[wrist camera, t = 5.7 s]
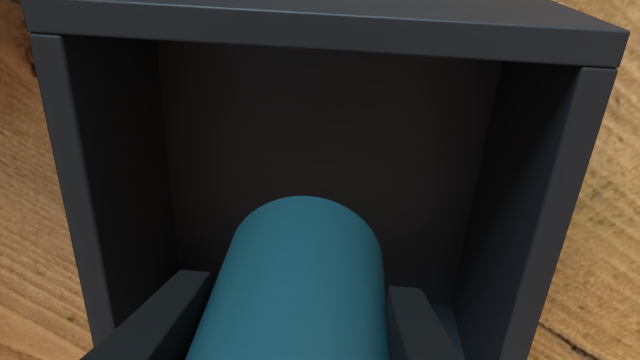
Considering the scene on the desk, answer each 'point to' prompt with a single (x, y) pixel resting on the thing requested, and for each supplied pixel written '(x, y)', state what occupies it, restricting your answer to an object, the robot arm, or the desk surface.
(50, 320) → the desk surface
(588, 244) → the desk surface
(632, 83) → the desk surface
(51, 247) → the desk surface
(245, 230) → the teal cylinder
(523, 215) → the bin
